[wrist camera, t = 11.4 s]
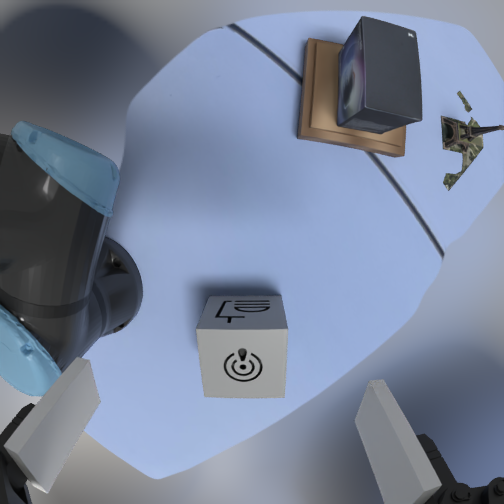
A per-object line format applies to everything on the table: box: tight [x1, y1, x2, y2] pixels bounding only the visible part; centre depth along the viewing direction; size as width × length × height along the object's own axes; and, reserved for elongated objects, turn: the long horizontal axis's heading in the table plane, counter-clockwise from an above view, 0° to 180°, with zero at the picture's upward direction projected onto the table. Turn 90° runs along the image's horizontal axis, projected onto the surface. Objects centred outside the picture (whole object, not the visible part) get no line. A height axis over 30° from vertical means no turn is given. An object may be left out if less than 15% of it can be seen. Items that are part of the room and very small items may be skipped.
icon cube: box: [196, 295, 288, 398], centre depth 37 cm, size 10×10×10 cm
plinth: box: [297, 38, 406, 157], centre depth 33 cm, size 14×14×4 cm
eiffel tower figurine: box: [441, 91, 504, 191], centre depth 29 cm, size 15×10×13 cm
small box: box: [337, 16, 422, 134], centre depth 26 cm, size 11×6×10 cm, turn 176°
